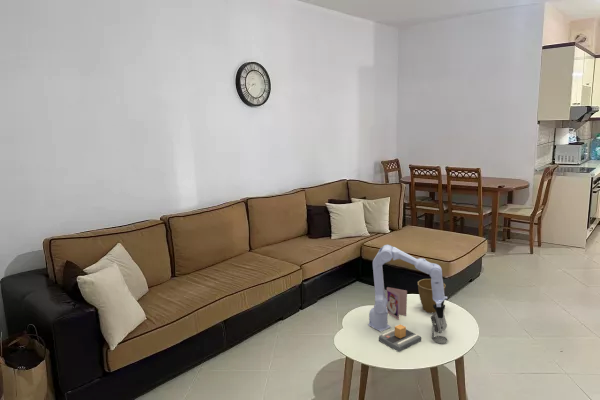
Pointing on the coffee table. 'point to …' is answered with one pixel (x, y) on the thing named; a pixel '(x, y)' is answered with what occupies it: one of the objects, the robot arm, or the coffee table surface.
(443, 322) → the electrical switch
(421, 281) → the plant pot
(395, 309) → the greeting card
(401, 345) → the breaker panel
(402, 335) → the block
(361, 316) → the coffee table surface
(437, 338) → the pocket watch
